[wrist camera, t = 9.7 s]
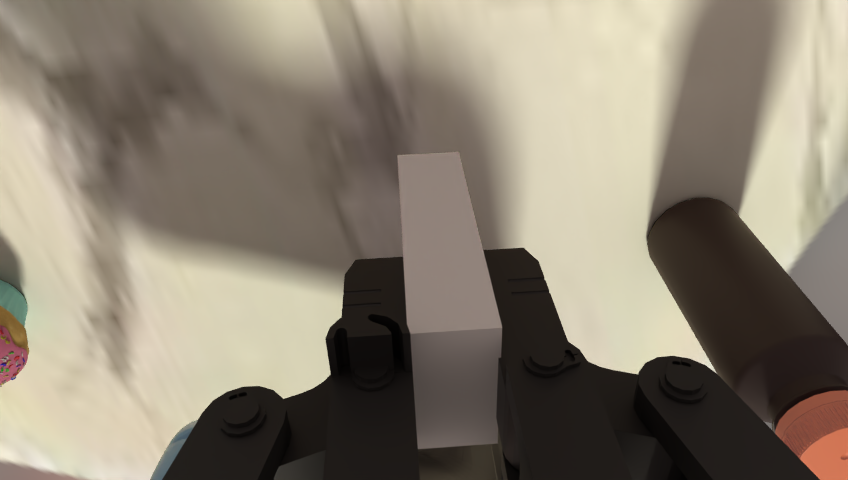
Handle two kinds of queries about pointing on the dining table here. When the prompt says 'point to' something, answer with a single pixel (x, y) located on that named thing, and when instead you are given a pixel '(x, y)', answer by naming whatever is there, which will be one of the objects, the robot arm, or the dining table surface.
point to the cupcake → (12, 332)
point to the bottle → (758, 329)
